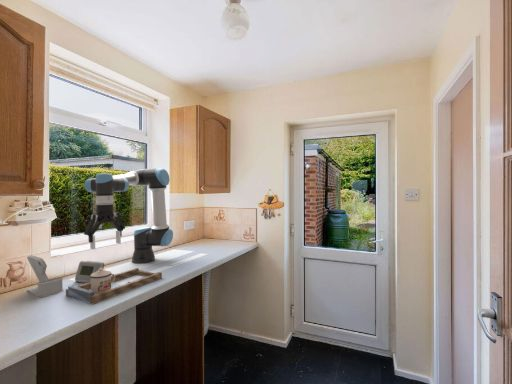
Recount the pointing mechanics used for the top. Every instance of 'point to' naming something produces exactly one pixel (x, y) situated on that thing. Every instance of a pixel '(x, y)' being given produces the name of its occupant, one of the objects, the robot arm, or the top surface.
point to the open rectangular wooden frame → (88, 296)
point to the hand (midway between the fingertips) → (106, 246)
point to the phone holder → (43, 279)
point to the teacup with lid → (101, 281)
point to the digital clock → (87, 270)
